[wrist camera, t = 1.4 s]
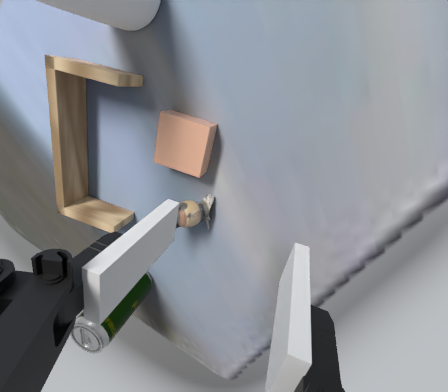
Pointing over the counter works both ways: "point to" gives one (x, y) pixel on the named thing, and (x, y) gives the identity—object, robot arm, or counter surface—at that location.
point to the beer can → (110, 319)
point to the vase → (194, 212)
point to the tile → (184, 142)
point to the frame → (79, 138)
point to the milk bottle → (112, 11)
